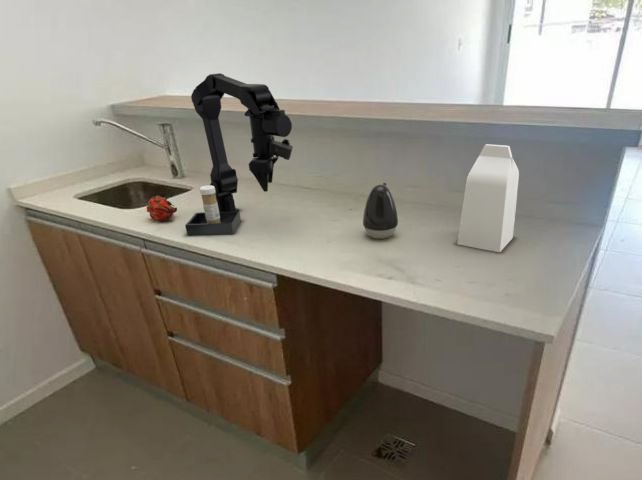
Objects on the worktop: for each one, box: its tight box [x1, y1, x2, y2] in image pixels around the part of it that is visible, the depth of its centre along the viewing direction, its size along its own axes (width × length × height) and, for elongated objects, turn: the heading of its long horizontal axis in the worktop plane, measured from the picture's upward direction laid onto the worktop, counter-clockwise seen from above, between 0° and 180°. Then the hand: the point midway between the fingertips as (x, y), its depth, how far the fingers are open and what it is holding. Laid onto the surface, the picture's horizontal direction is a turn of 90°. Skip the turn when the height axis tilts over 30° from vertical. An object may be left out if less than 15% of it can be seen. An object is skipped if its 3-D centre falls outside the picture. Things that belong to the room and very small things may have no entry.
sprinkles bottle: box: [199, 184, 221, 224], centre depth 147 cm, size 5×5×14 cm
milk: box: [456, 143, 520, 253], centre depth 125 cm, size 12×12×26 cm
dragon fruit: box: [146, 195, 178, 223], centre depth 159 cm, size 8×8×12 cm
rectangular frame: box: [184, 210, 242, 237], centre depth 150 cm, size 12×15×4 cm
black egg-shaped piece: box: [362, 182, 399, 240], centre depth 135 cm, size 10×10×15 cm
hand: (268, 186), depth 143 cm, fingers open, 9 cm apart
